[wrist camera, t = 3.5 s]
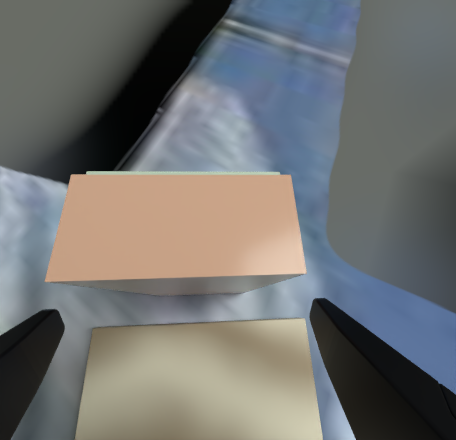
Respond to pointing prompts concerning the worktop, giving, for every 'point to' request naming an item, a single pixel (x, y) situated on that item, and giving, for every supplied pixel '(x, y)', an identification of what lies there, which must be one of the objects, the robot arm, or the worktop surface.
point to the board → (200, 382)
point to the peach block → (178, 232)
